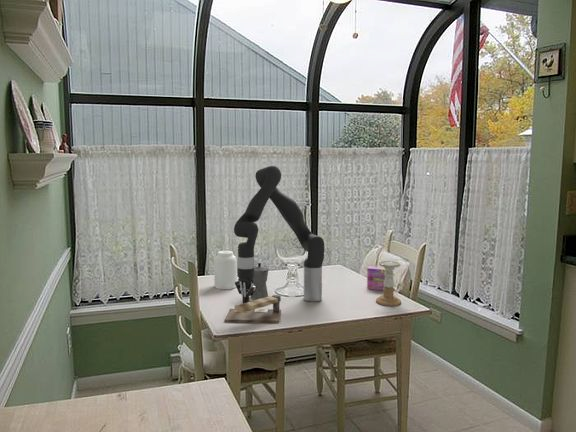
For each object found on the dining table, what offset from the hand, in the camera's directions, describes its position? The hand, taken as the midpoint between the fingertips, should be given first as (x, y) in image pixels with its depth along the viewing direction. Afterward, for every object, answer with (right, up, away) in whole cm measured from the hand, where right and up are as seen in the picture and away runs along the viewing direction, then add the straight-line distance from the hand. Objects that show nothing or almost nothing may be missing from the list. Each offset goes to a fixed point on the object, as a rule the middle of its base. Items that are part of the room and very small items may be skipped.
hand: (245, 304), depth 216 cm
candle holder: (+69, -4, +27) cm, 75 cm away
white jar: (-16, 0, +54) cm, 56 cm away
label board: (+3, -7, +5) cm, 9 cm away
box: (+68, -1, +52) cm, 86 cm away
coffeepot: (+4, -3, +36) cm, 36 cm away
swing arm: (+6, -1, +1) cm, 6 cm away
